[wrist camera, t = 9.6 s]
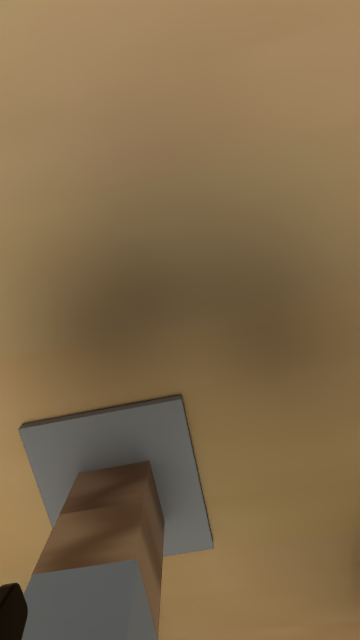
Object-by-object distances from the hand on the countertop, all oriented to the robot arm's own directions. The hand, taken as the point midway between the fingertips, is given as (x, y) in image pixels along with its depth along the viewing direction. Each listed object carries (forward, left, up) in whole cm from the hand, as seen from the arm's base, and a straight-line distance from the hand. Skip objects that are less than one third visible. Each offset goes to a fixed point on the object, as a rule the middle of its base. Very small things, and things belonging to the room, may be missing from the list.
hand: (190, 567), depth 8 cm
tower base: (+6, +8, -12) cm, 16 cm away
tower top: (+6, +8, -9) cm, 13 cm away
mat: (+6, +7, -13) cm, 16 cm away
